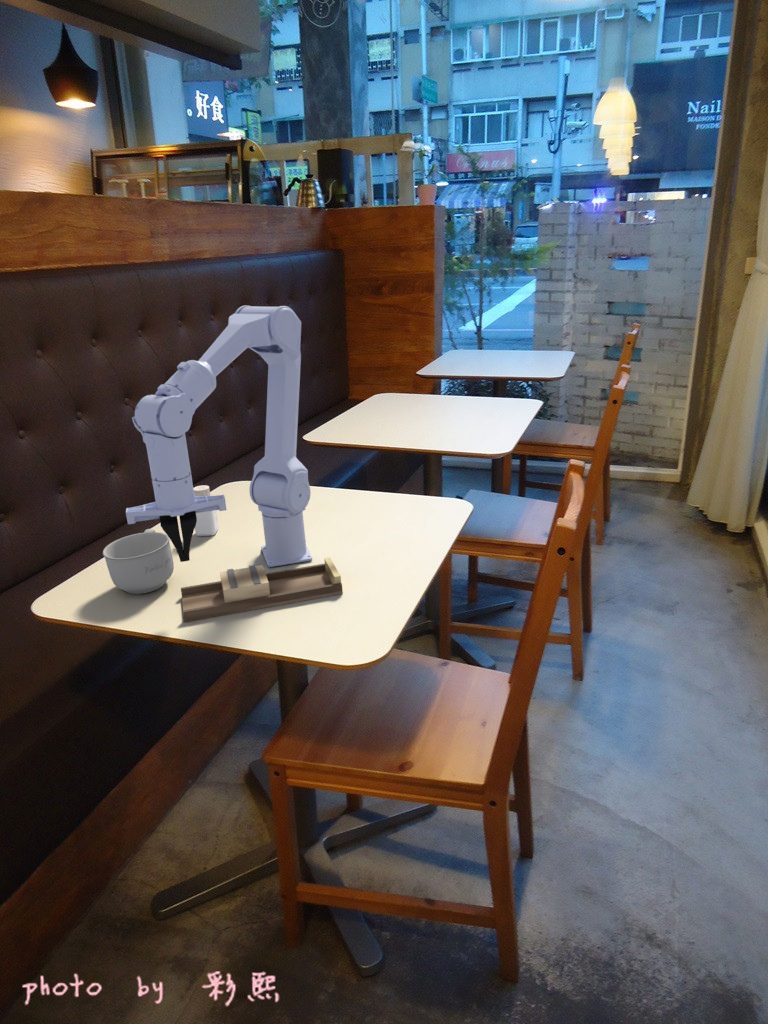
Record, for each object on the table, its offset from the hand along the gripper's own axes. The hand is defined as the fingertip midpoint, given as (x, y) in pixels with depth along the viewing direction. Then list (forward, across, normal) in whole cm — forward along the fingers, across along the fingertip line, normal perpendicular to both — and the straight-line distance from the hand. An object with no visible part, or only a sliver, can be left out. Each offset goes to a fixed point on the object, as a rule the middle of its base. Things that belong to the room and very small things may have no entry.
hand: (184, 558), depth 116 cm
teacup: (+9, -7, +13) cm, 17 cm away
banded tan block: (+8, +9, 0) cm, 12 cm away
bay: (+8, +11, 0) cm, 14 cm away
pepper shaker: (+9, +5, +32) cm, 33 cm away
